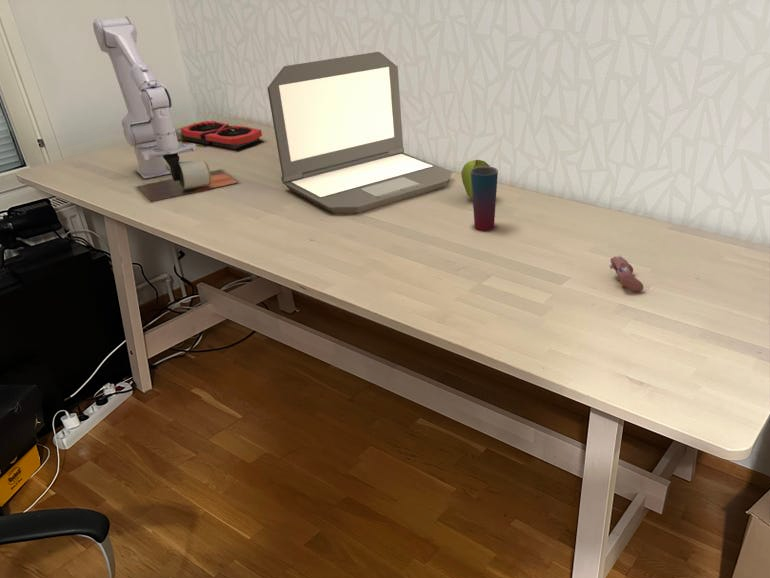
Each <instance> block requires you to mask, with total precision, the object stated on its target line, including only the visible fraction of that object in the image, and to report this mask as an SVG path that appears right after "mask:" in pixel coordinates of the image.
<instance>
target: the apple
mask: <svg viewBox="0 0 770 578" xmlns="http://www.w3.org/2000/svg"><path fill="white" fill-rule="evenodd" d="M480 166H489V167H491V166H490V164H489V163H488V162H486V161H485V160H481V159H474V160H470V161H468V162H466V163H465V164H464V165H463V167H462V170H461V181H462V185H463V187H464V190H465V192H466V195H467V197H469V198H470V199H471V200H472V201H473V197H472V183H471V169H473V168H475V167H480Z"/></svg>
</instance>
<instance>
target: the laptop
mask: <svg viewBox="0 0 770 578" xmlns="http://www.w3.org/2000/svg"><path fill="white" fill-rule="evenodd" d="M267 93H268V100H269V105H270V112H271V118H272V123H273V130H274V135H275V136H274V137H275V141H276V148H277V153H278V159H279V164H280V165H279V166H280V171H281V182H282V184H283V185H284V186H286V187H287V188H288V189H289V190H290V191H292V192H294V193H295V194H297V195H299V196H300V197H303V198H305V199H306V200H308V201H310V202H312V203H313V204H317V205H318V206H319V207H322V208H323V209H325V210H327V211H328V212H331V213H333V214H335V215H338V214H339V215H341V214H342V215H343V214H351V215H352V214H356V215H357V214H359V213H362V212H365V211H366V212H367V211H370V210H372V209H375V208H380V207H382V206H385V205H389V204H392V203H395V202H399V201H402V200H406V199H409V198H414V197H416V196H419V195H422V194H425V193H429V192H432V191H435V190H436V191H437V190H440V189H442V188H445V187H446V186H447V183H448V182H449V180H450V179H451V177H452V175H453V173H454V171H453V170H449V169H447V168H445V167H441V166H439V165H436V164H434V163H432V162H428V161H426V160H424V159H421V158H418V157H416V156H413V155H410V154H407V153H405V147H404V140H403V125H402V124H403V123H402V110H401V109H402V108H401V95H400V93H401V92H400V80H399V67H398V65H397V64H395V63H394V62H393V61H392V60H390V59H389V58H388V57H387V56H385V54H383V53H382V52H380V51H374V52H367V53H361V54H354V55H348V56H340V57H334V58H327V59H321V60H315V61H309V62H303V63H302V62H301V63H295V64H290V65H284V66H283V67H282V68H281V70H280V71H278V73H277V74H276V76H275V77H274V78H273V80H272V81H271V83H270V84H269V85H268V86H267Z"/></svg>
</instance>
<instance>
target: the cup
mask: <svg viewBox="0 0 770 578" xmlns="http://www.w3.org/2000/svg"><path fill="white" fill-rule="evenodd" d="M489 166H490V165H489ZM489 166H480V167H475V168H473V169H471V183H472V197H473V200H472V210H473V221H474V223H473V224H474V229H475V230H477V231H481V232H489V231H492V230H494V228H495V219H496V205H497V204H496V203H497V191H498V176H499V170H498V168H496V167H494V166H490V167H489Z"/></svg>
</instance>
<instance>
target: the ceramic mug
mask: <svg viewBox="0 0 770 578" xmlns="http://www.w3.org/2000/svg"><path fill="white" fill-rule="evenodd" d="M177 169H178V172H179V175H180V180H179V183H180V186H181V187H182V189H189V188H195V187H202V186H207V185H209V184H210V182H211V174H210V172H211V170H210V167H209V164H208V163H207V162H206V161H203V160H192V161H191V160H190V161H179V163H178V167H177Z"/></svg>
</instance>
